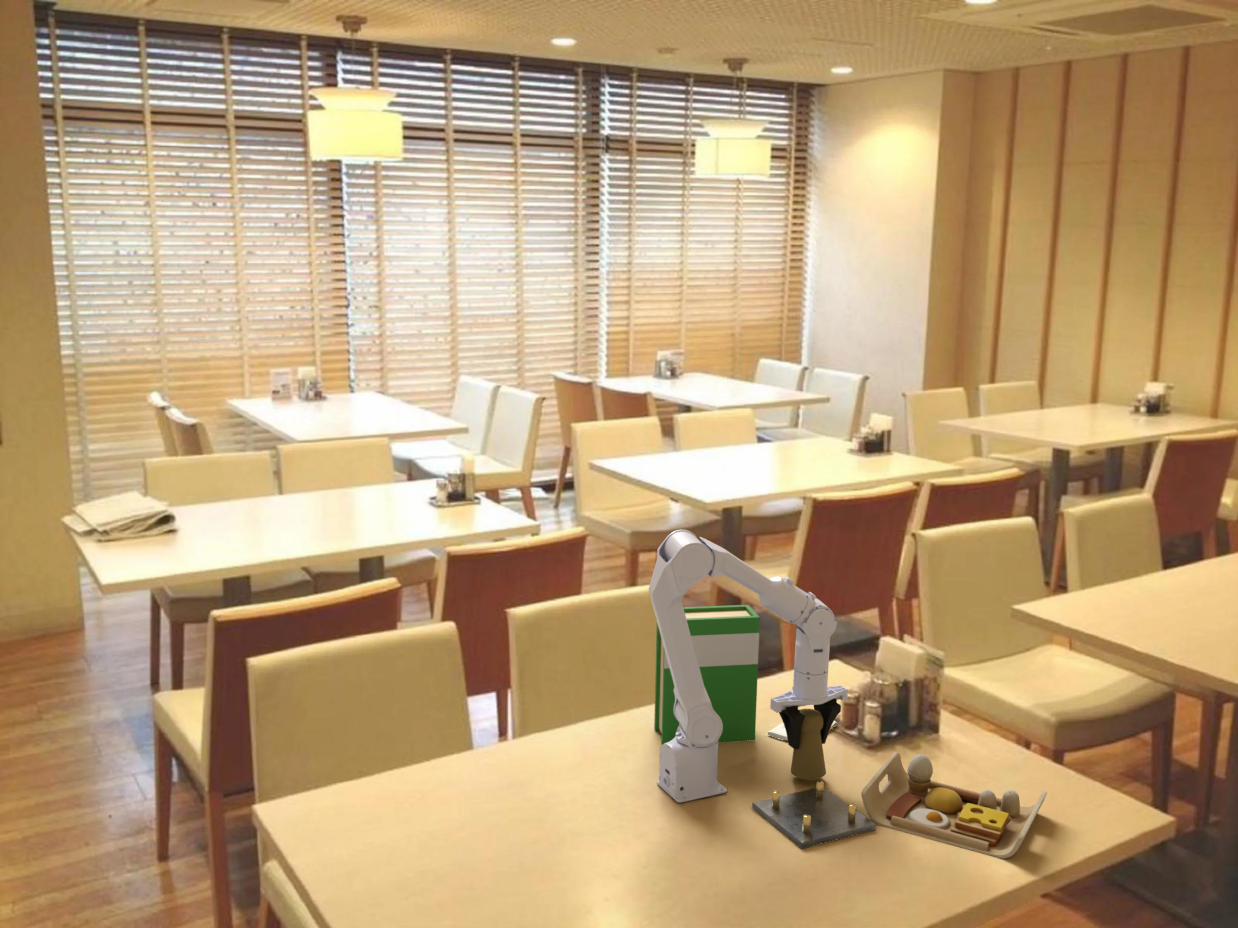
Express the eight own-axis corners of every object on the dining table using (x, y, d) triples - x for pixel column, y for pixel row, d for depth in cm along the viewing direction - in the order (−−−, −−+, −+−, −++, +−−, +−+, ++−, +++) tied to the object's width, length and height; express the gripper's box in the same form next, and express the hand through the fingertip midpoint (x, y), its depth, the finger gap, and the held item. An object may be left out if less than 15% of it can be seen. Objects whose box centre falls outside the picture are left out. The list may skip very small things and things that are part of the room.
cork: (800, 761, 197) (800, 701, 195) (832, 769, 194) (832, 709, 192) (784, 773, 192) (783, 713, 191) (816, 782, 189) (815, 720, 187)
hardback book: (662, 745, 206) (665, 620, 201) (654, 729, 213) (657, 608, 208) (754, 740, 209) (759, 617, 204) (743, 724, 216) (748, 604, 211)
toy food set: (858, 821, 180) (861, 777, 179) (893, 778, 195) (896, 737, 194) (1022, 866, 167) (1026, 819, 166) (1045, 816, 183) (1049, 772, 181)
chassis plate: (801, 848, 171) (802, 827, 170) (752, 807, 183) (753, 787, 182) (875, 829, 177) (876, 809, 176) (822, 791, 189) (823, 772, 188)
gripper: (832, 655, 196) (827, 728, 199) (761, 666, 190) (758, 741, 193) (856, 669, 190) (852, 743, 193) (785, 681, 184) (781, 758, 186)
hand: (807, 744), depth 192 cm, fingers closed on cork, 5 cm apart
